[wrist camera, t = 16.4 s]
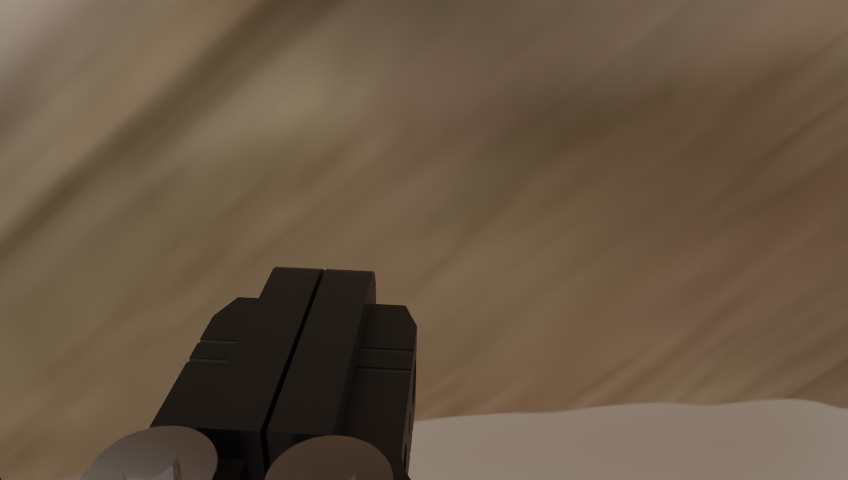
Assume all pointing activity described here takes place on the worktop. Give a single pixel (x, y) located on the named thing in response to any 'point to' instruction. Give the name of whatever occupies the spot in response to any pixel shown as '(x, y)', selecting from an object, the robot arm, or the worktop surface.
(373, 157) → the worktop surface
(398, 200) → the worktop surface
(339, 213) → the worktop surface
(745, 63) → the worktop surface
